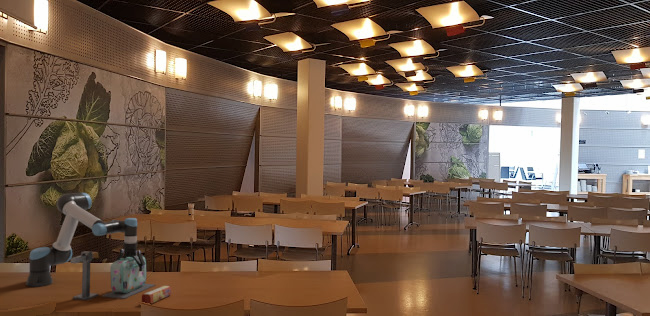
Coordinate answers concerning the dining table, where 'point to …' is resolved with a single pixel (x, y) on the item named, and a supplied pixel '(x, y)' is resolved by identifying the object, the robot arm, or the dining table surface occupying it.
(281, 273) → the dining table surface
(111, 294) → the mat
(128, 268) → the lunch box
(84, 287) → the latch post
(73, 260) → the bolt
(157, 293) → the snack package
